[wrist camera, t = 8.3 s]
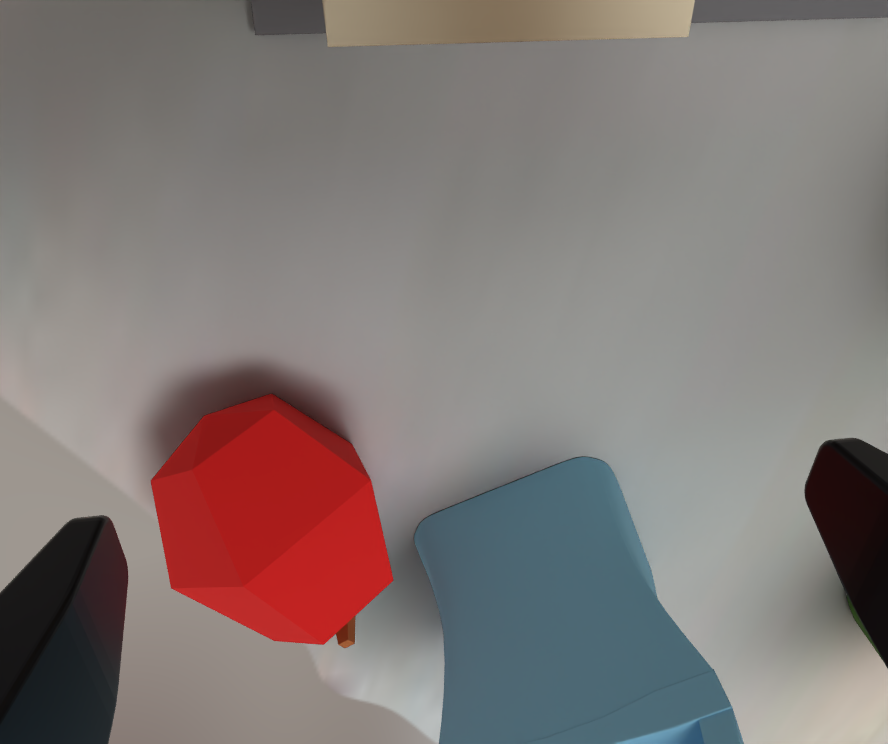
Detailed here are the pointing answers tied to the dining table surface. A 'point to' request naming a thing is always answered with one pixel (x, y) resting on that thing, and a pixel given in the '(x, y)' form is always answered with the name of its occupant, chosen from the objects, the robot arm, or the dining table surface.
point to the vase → (561, 622)
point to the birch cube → (500, 20)
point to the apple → (272, 523)
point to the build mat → (301, 12)
